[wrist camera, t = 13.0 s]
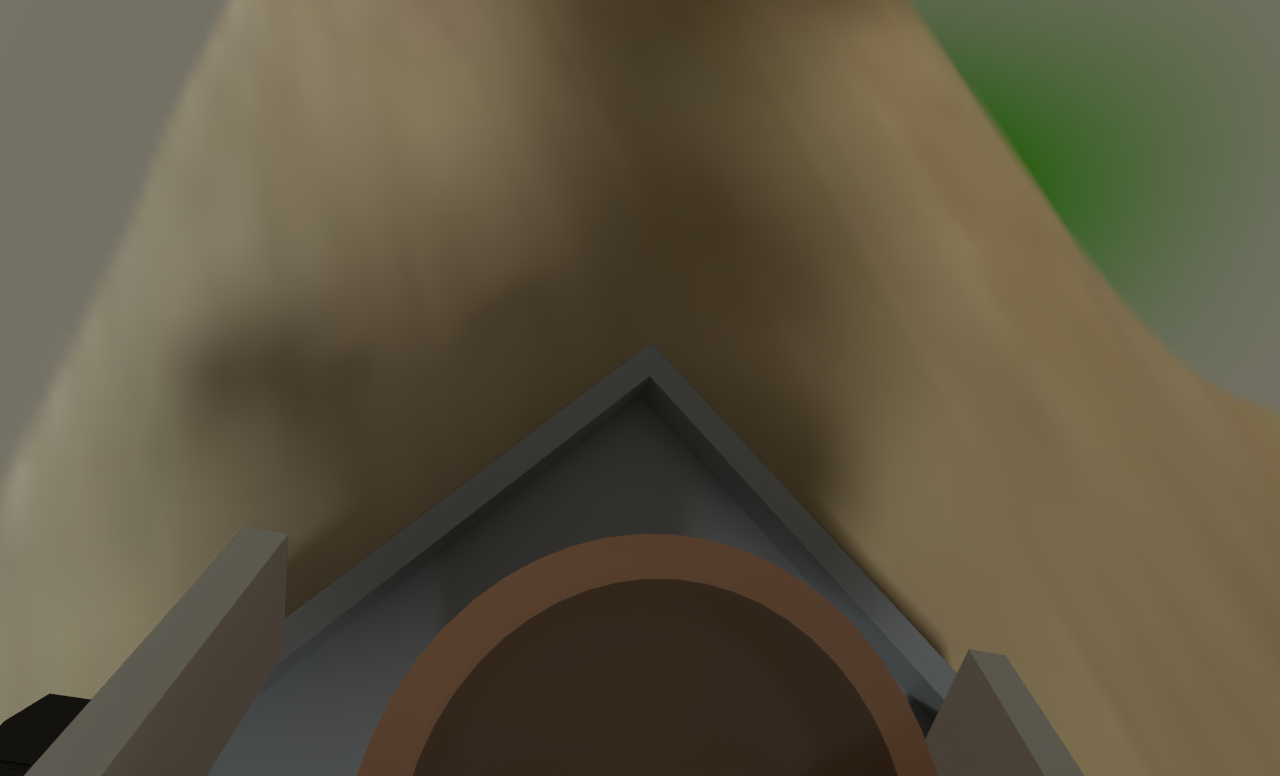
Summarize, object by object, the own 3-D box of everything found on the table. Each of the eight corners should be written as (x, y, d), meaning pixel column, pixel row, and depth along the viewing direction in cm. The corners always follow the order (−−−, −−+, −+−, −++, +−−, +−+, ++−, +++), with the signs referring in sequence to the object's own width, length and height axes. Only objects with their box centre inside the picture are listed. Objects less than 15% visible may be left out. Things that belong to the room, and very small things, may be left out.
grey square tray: (960, 729, 22) (1013, 734, 19) (479, 1344, 15) (473, 1458, 13) (638, 373, 24) (651, 341, 22) (117, 774, 18) (60, 787, 16)
